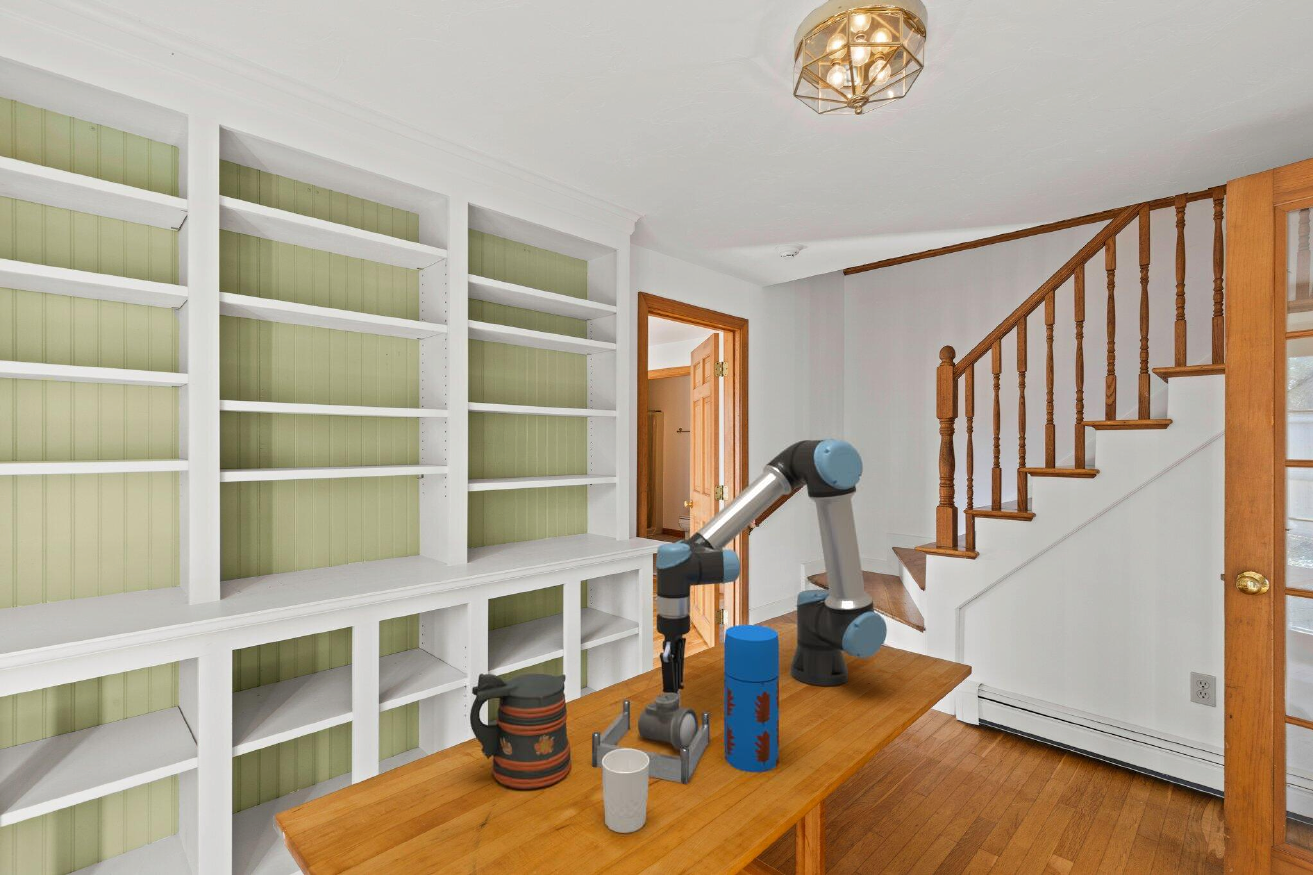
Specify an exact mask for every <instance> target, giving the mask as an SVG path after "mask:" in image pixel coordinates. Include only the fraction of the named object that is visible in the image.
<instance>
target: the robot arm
mask: <svg viewBox="0 0 1313 875" xmlns="http://www.w3.org/2000/svg"><path fill="white" fill-rule="evenodd" d="M863 470H864V468H863V462H862V458H861V456H860V452H859V451H858V450H857V449H856V448H855V447H854V446H852V444H850V443H849V442H847V441H843V440H837V439H833V438H830V439H816V440H815V439H814V440H813V439H809V440H805V439H804V440H801V441H796V442H795V443H792V444H791V445H789V446H788V447H786V448H785V449H784V450H782V451H781V452H780V453H779V454H777V455H776V456H775V457H774V458H772V459H771V460H770V461H769V462H768V463H767V464H766V465H764V467H763V471H762V472H763V473H761V474H760V475H758V477H757V478H756V479H755V480H753V481H752V482H751V483H750V484H749V485H748V486H747V487H745V489H743V490H742V491H741V492H740V493H739V494H738V495H737V496H735V497H734V498H733V499H732V500H731V501H730V502H729V503H728V504H727V505H726V506H724V507H723V508H722V509H721V510H719V511H718V512H717V513H716V514H715V515H714V516H713V517H712V518H711V519H709V521H707V522H706V523H705V524H704V525H703V526H702V527H701V528H700V529H698V530H697V531H696V532H695V533H694V534H693V535H691V536H690V537H689V538H688V539H681V540H678V541H676V542H668V543H662V544H660V545H659V546H658V547H657V550H656V562H655V567H656V568H655V569H656V570H655V571H656V597H655V598H654V601H655V603H656V612H657V613H658V614H657V615H656V631H657V633H659V634H660V635H663V636H664V638H663V639H664V640H663V641H662V650H663V652H660V654H659V660H660V665H661V678H662V688H663V689H662V692H663V693H676V694H678V695H679V700H680V701H679V707H680V708H681V690H684V688H685V685H683V682H684V667H685V652H686V651H685V649H686V642H687V638H686V637H683V636H685V635H687V634H688V633H690V631H691V616H690V613H691V587H692V586H693V587H695V586H705V585H719V584H723V585H724V584H728V583H733V582H735V581H736V580H738V578H739V576H740V575H741V574H740V573H741V561H740V558H739V556H738V553H736V551H735V550H733V549H724V548H725V547H727V546H728V545H729V543H731V542H732V541H733V540H734V539H735V538H736V537H737V536H738V535H739V534H740V533H742V532H743V531H744V530H745V529H746V528H747V527H748V526H750V524H752V522H754V521H755V520H756V519H757V518H758V517H759V516H760V515H762V514H763V513H764V512H765V511H766V510H767V509H768V508H769V507H771V505H772V504H774V503H775V502H776V501H777V500H778V499H779V498H781V497H782V496H783V495H789V494H791V493H792V492H793V491H794V490H795V489H797V488H799V487H802V486H805V485H806V490H807V495H808V496H807V497H808V498H809V499H811V500H812V501H813V502H814V503H815V506H816V512H817V513H816V514H817V519H818V521H817V522H818V527H819V534H820V540H821V547H822V553H823V559H824V561H823V562H824V566H825V574H826V581H827V586H828V589H808V590H802V591H800V592H799V593H798V594H797V601H796V605H795V606H796V609H797V610H796V632H797V633H796V634H797V636H796V637H797V638H796V643H797V644H796V647H795V651H794V654H793V656H792V660H791V663H790V675H791V677H793V679H795V680H797V681H798V682H801V681H802V682H801V683H805V684H807V685H812V686H819V687H820V686H821V687H834V686H840V685H842V684H845V683H847V681H849V669H848V666H847V663H846V660H845V657H844V654H843V652H844V653H845V654H847V655H849V656H854V657H856V658H860V659H867V658H870V657H872V656H874V655H875V654H877V653H878V652H879V651H880V650H881V648H882V646H883V645H884V643H885V641H886V638H887V631H888V630H887V629H888V628H887V627H888V626H887V624H886V623H887V622H886V620H885V619H884V617H882V616H881V614H879V613H878V612H875V608H874V601H873V598H872V596H871V595H870V594H868V593H867V592H866V591H865V584H864V582H865V581H864V577H863V569H862V562H861V556H860V549H859V544H858V535H857V529H856V525H855V517H854V516H855V515H854V510H853V504H852V497H853V496H854V495H855V494H856V492H857V487H856V485H857V484H858V483H859V481H860V477H861V476H862V475H863Z"/></svg>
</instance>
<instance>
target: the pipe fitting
mask: <svg viewBox="0 0 1313 875" xmlns="http://www.w3.org/2000/svg"><path fill="white" fill-rule="evenodd" d="M654 701H655V702H650V703H648V704H647V705H646V706H645V708H644V709H643V710H642V711H641V713H640V715H639V716H638V721H637V729H638V730H637V731H638V733H639V735H640V736H641V738H643V739H647V740H652V741H658V742H663V743H670V744H672V746H673V747H674V749H676V750H678V751H680V749H681V747H689V746H690V744H691V742H692V741H693V739H694V737H695V735H696V734H697V732H698V730H699V729H700V727H699V726H700V725H699V718H698V716H697V715H698V714H697V712H696V710H694V709H693V708H689V707H688V708H687V707H681V706H680V707H679V701H680V702H681V699H680V700H679V695H678V694H676V693H665V692H663V693H662V694H659V695H658V696H656V697H655V699H654Z"/></svg>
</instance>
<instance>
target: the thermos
mask: <svg viewBox="0 0 1313 875" xmlns="http://www.w3.org/2000/svg"><path fill="white" fill-rule="evenodd" d="M723 642H724V645H723V646H724V650H723V651H724V655H723V656H724V657H723V658H724V660H723V661H724V664H723V665H724V666H723V668H724V669H723V671H724V674H723V677H724V680H723V684H724V687H723V688H724V689H723V691H724V692H723V693H724V695H723V697H724V698H723V700H724V701H723V704H724V705H723V706H724V707H723V710H724V712H723V713H724V714H723V741H724V742H723V744H724V759H725V761H726V763H727V764H729V766H732V767H733V768H734V769H737V770H738V771H739V770H740V771H743V772H749V773H763V772H768V771H770V770H772V769H774V768H775V767H776V766H777V764H778V761H779V747H780V744H779V743H780V720H779V718H780V715H779V714H780V681H779V680H780V642H779V634H778V631H776V630H775V629H772V628H770V627H768V626H763V625H754V624H740V625H733V626H730V627H728V628H727V629H725V635H724V641H723Z"/></svg>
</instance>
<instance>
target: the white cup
mask: <svg viewBox="0 0 1313 875" xmlns="http://www.w3.org/2000/svg"><path fill="white" fill-rule="evenodd" d="M639 750H640V749H637V750H636V749H635V748H631V749H618V750H614V751H611V752H609V753H607V754H606V755H605V756H604V757H603V759H602V767H601V771H602V772H601V773H602V792H603V793H602V797H603V799H602V800H603V807H604V823H605V825H606V827H608V829H609V830H611V831H612V832H613V831H614V832H615V833H620V834H622V833H623V834H628V833H635V832H636V831H638V830H640V829H642V828H643V826H644V825H645V823H646V819H647V816H646V815H647V804H648V796H649V795H648V793H649V778H650V777H649V757H648V756H647V755H646V754H645V753H644V752H642V751H643V750H642V751H639Z"/></svg>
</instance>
